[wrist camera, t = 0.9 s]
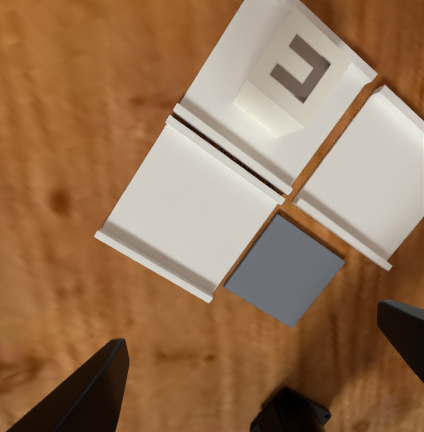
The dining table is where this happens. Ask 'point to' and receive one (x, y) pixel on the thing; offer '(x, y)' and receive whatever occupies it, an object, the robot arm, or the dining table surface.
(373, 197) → the tray
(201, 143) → the tray
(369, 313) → the dining table surface
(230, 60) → the tray
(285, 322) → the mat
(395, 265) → the dining table surface
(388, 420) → the dining table surface
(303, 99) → the letter cube
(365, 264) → the dining table surface
